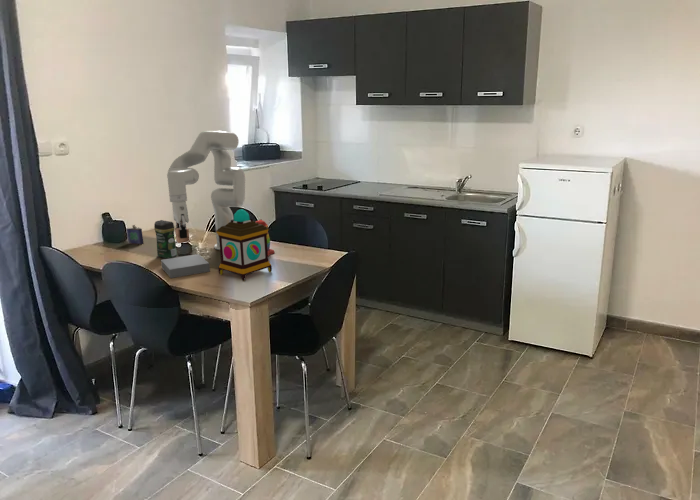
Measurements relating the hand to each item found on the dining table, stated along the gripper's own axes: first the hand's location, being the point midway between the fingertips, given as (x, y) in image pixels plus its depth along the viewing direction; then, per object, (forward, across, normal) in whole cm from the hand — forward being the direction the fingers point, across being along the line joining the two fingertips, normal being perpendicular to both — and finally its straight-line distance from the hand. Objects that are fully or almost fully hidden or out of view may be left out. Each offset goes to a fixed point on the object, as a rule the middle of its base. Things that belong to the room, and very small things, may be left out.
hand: (182, 236), depth 269 cm
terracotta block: (+2, 0, 0) cm, 2 cm away
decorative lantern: (+17, -21, -22) cm, 35 cm away
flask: (+16, +63, +11) cm, 66 cm away
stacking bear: (+16, +4, -40) cm, 43 cm away
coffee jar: (+16, +28, +2) cm, 33 cm away
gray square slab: (+16, 0, 0) cm, 16 cm away
